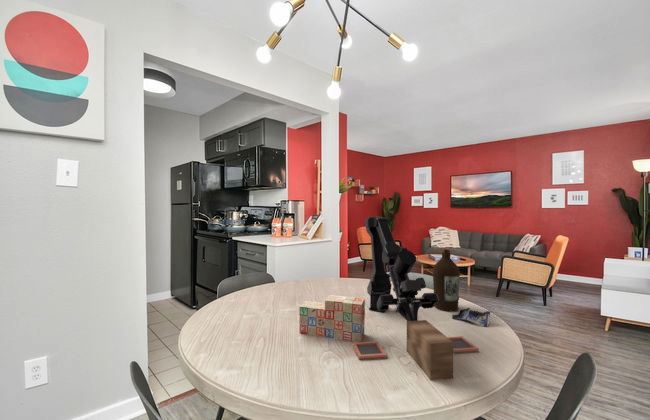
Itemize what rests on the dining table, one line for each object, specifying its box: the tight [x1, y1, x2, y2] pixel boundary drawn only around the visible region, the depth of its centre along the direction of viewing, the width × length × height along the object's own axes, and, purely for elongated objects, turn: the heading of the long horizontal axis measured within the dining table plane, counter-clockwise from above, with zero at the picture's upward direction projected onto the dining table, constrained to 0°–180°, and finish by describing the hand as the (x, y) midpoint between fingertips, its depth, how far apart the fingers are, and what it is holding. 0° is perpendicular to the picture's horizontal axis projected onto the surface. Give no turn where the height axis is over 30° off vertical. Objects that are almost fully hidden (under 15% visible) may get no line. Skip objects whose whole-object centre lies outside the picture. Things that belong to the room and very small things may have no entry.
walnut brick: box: [406, 319, 454, 381], centre depth 76 cm, size 14×6×9 cm, turn 8°
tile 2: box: [447, 335, 480, 355], centre depth 86 cm, size 8×8×1 cm
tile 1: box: [352, 340, 388, 361], centre depth 82 cm, size 8×8×1 cm
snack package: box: [451, 307, 491, 327], centre depth 106 cm, size 12×6×12 cm
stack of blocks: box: [298, 294, 366, 343], centre depth 94 cm, size 21×6×12 cm, turn 72°
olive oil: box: [432, 248, 461, 312], centre depth 120 cm, size 11×11×25 cm
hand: (415, 328), depth 83 cm, fingers closed, pressing on walnut brick
